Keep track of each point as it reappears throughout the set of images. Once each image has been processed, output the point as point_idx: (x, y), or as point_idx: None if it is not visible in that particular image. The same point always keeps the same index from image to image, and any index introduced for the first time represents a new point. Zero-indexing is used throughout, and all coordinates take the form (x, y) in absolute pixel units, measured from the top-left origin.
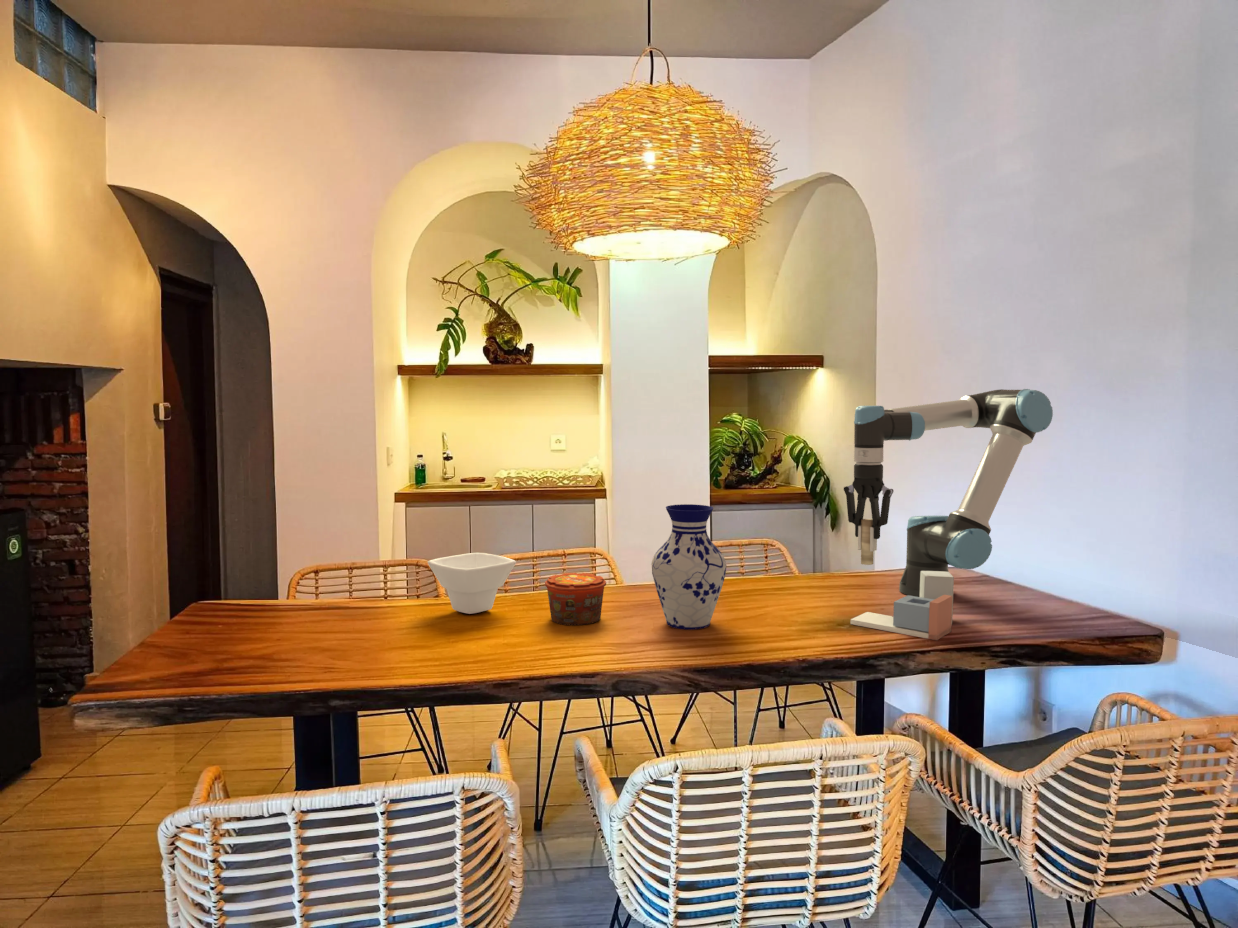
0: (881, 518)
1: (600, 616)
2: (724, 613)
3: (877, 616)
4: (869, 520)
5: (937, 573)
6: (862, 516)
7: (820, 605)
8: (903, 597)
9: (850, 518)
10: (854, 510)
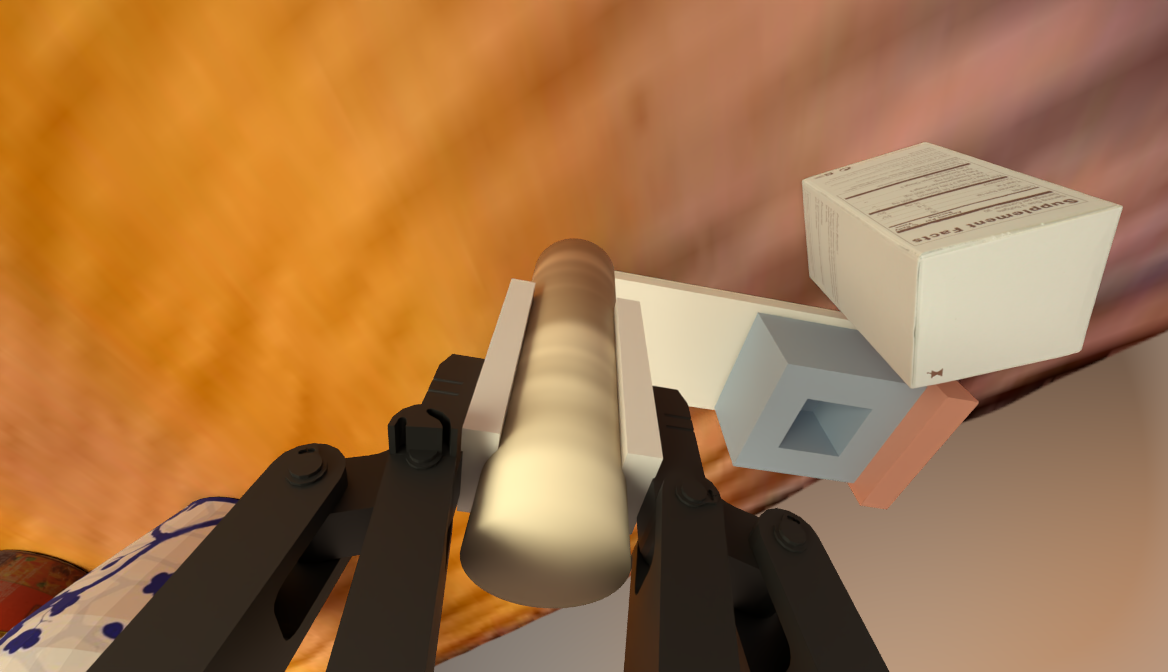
0: (755, 667)
1: (78, 576)
2: (222, 432)
3: (652, 320)
4: (586, 598)
5: (1009, 311)
6: (442, 565)
7: (388, 192)
8: (768, 402)
9: (312, 573)
10: (243, 649)
